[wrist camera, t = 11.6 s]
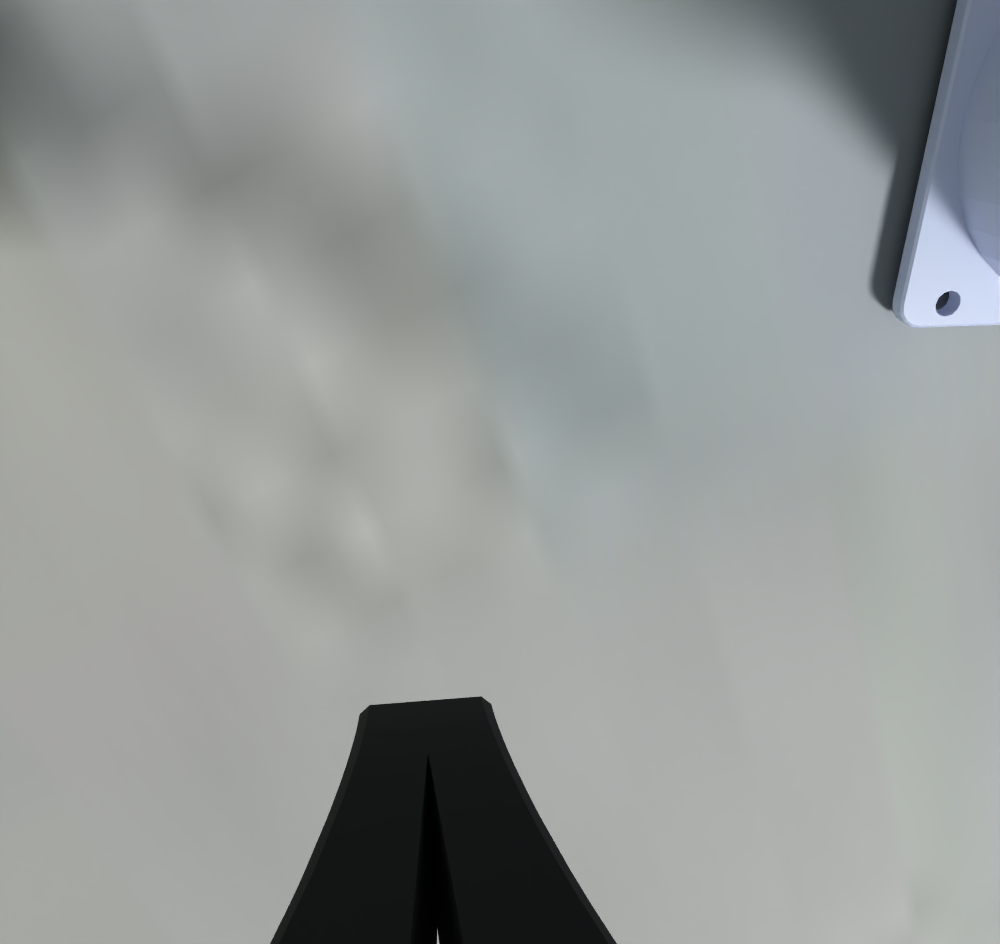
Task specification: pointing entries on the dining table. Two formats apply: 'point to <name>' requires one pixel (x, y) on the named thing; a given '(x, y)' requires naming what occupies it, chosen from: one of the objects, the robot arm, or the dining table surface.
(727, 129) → the dining table surface
